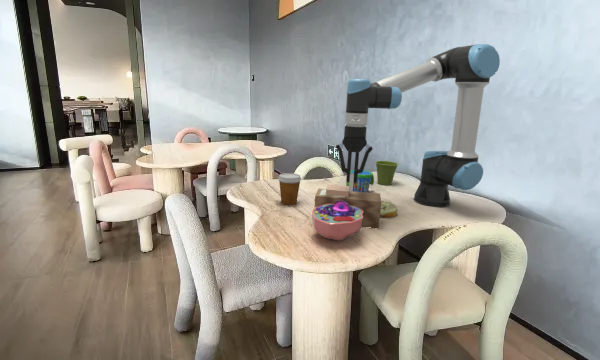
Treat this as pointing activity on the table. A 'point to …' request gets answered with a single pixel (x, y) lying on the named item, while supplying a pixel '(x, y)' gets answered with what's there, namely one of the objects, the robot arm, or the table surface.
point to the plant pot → (385, 172)
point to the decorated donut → (388, 209)
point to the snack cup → (362, 181)
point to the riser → (356, 204)
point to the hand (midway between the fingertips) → (350, 191)
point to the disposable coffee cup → (289, 188)
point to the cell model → (337, 220)
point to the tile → (337, 190)
